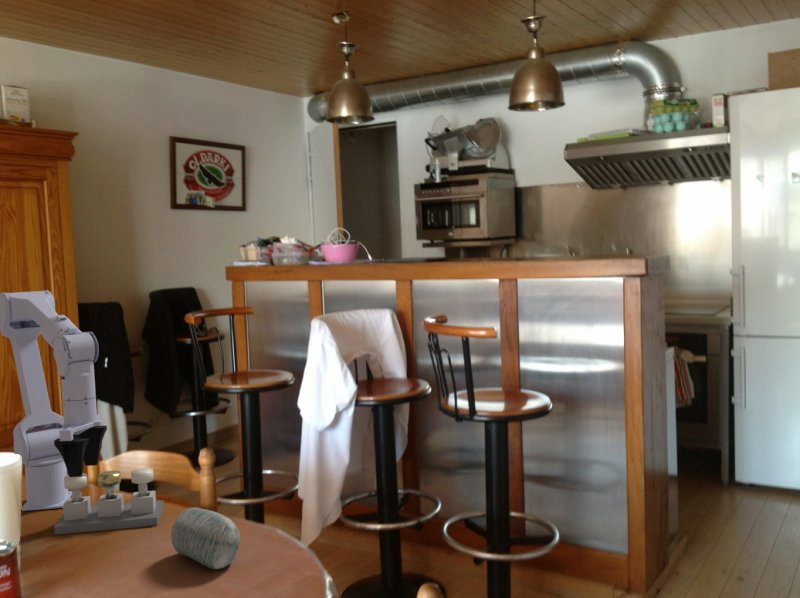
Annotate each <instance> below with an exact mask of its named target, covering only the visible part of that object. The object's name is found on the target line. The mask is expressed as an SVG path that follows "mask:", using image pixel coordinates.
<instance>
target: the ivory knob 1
mask: <svg viewBox="0 0 800 598" xmlns="http://www.w3.org/2000/svg"><path fill="white" fill-rule="evenodd" d="M88 483H89V482H88V474H87V473H84V472H83V474H82V476H81V477H69V474H67V476H65V477H64V486H65V488H66V489H68V490H71V491H72V496H71V498H72V502H73V503H74V502H81V501H82V499H81V497H82V488H84V487H87V486H88Z"/></svg>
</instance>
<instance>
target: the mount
mask: <svg viewBox="0 0 800 598" xmlns="http://www.w3.org/2000/svg"><path fill="white" fill-rule="evenodd" d="M147 491H148V496H145V497H139V491H135V492H133V494H132V496H131V497H130V502H129V503H128V502H127V503H124V493H123V492H121V493H115V499H109V500H106V494H101V495H100V497H99V498H98V500H97V504H96V505H93V506H92V505H91V504H92V503H91V501H92V500H91V495H88V496H86V495H85V496H81V499H82V501H81V502H74V503H73V502H72V497H70V498H68V499H67V500H66V502H65V503H64V504H63V507H62V508H63V514H62V515H61V517H60V518H59V519H58V521H57V522H56V524H55V525H54V527H53V528H54V529H53V530H54V536H55V535H65V534H66V535H68V534H76V533H77V534H78V533H88V532H100V531H111V530H120V529H121V530H122V529H133V528H141V527H142V528H145V527H152V526H153V527H154V526H158V525H159V522H160V520H161V516H162V514H163V511H164V500H163V499H162V500H157V497H156V495H157V494H156V493H157V492H156V490H147Z"/></svg>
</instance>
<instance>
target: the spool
mask: <svg viewBox="0 0 800 598" xmlns="http://www.w3.org/2000/svg"><path fill="white" fill-rule="evenodd" d="M171 527H172V529H171V535H170V537H171V539H170V540H171V545H172V547H173V549H174V550H175V551H176V553H178V555H180V556H184V557H185V556H186V557H187V558H189V559H192V560H193V561H195V562H197V563H199V564H201V565H203V566H204V567H207V568H209V569H211V570H216V571H217V570H222V569H225V568H226V567H227V566H229V565H230V564H231V563H232V562H233V560H234V559H235V557H236V556H237V554H238V551H239V547H240V544H241V533H240V530H239V527H238V525H237V524H236V523H235V522H234V521H233V520H232V519H230V518H229V517H227V516H226V515H223V514H221V513H219V512H216V511H213V510H210V509H205V508H200V507H189V508H186V509H185V510H183V511H182V512H181V513H179V514H178V516H177V518H176V519H175V520H174V522H173V525H172V526H171Z"/></svg>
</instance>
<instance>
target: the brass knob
mask: <svg viewBox="0 0 800 598" xmlns="http://www.w3.org/2000/svg"><path fill="white" fill-rule="evenodd" d="M97 482H98V483H97V485H98V486H99V487H104V488H105V495H106V500H109V499H115V494H116V493H115V486H116V485H119V484H121V482H122V478H121V471H120V470H119V471H118V470H109V471H107V470H106V471H103V472H100V473H98V474H97Z"/></svg>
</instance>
